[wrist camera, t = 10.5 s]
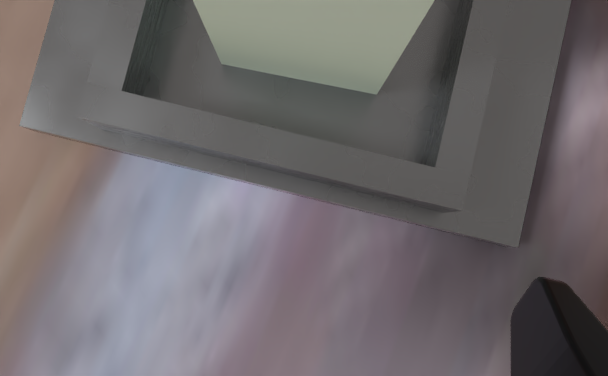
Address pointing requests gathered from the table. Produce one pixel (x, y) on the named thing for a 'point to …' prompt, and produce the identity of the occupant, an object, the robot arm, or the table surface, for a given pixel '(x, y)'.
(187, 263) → the table surface
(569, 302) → the robot arm
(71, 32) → the grey rectangular tray
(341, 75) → the sage block
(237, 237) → the table surface
